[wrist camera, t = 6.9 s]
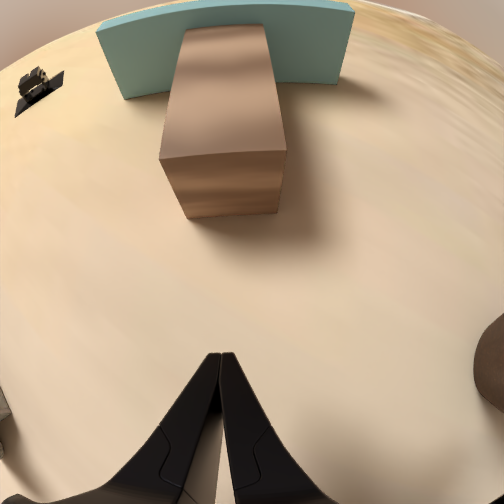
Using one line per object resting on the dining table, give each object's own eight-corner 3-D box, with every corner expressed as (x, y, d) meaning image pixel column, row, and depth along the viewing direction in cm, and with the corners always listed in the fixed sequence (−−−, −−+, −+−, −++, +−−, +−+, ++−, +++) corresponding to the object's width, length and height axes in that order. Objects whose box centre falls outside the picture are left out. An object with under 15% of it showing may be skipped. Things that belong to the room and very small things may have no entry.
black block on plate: (73, 66, 32) (63, 46, 28) (73, 86, 30) (61, 64, 26) (14, 104, 31) (2, 88, 26) (8, 129, 28) (-7, 111, 24)
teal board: (336, 84, 28) (355, 12, 18) (124, 99, 27) (95, 32, 18) (320, 48, 30) (331, -14, 21) (138, 61, 30) (119, 2, 20)
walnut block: (277, 214, 23) (286, 150, 15) (187, 219, 22) (158, 159, 15) (261, 84, 28) (262, 23, 20) (196, 88, 28) (185, 29, 20)
